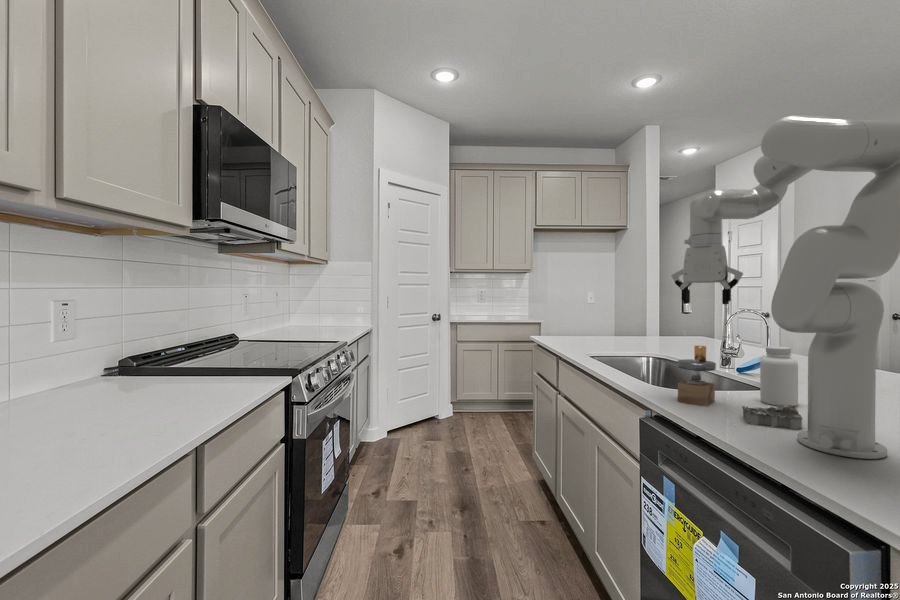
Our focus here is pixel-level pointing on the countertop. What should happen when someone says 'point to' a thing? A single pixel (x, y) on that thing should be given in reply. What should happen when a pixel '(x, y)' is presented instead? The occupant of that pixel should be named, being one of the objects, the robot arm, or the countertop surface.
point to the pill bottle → (779, 377)
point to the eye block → (696, 392)
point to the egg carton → (774, 416)
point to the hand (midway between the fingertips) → (705, 303)
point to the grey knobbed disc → (697, 363)
